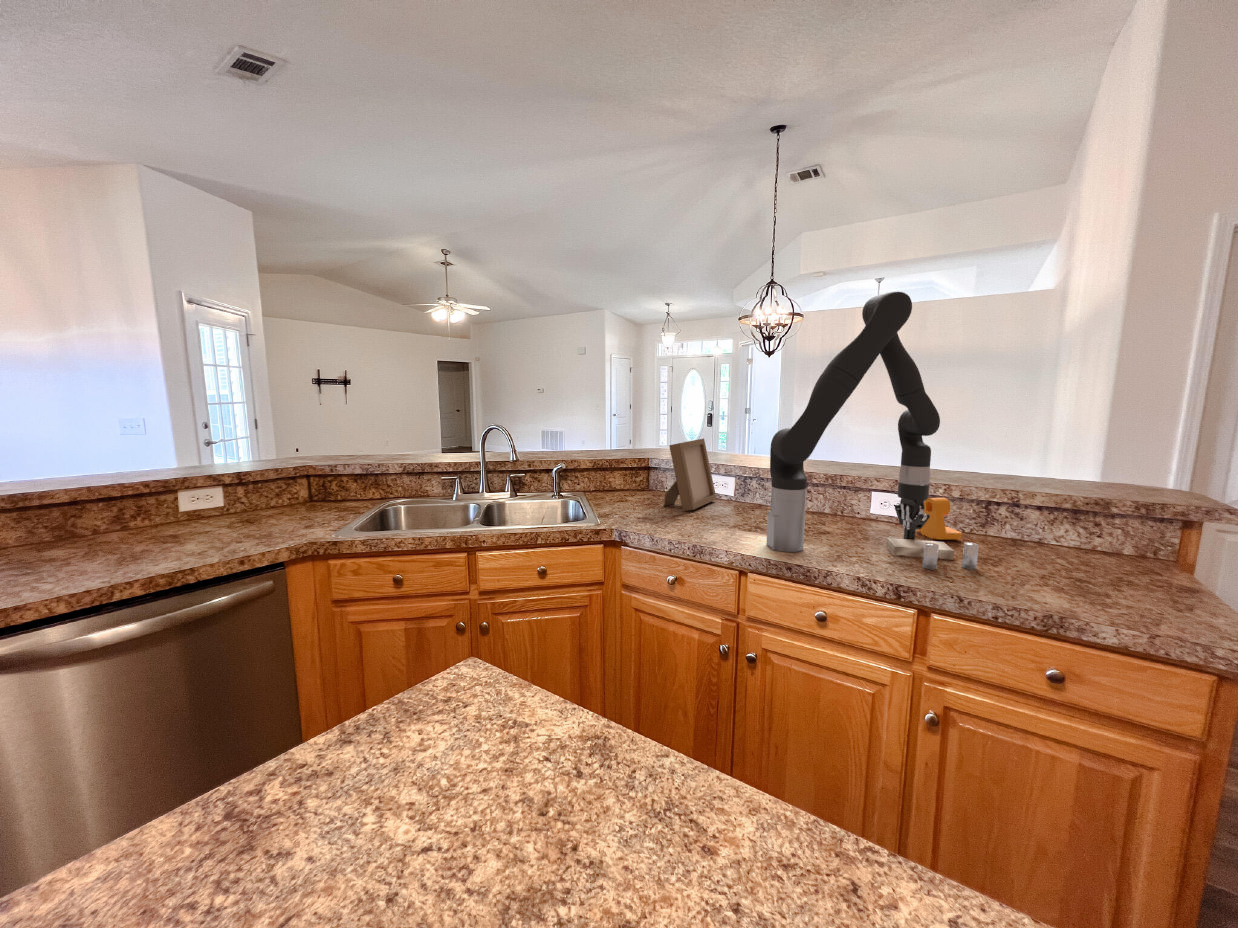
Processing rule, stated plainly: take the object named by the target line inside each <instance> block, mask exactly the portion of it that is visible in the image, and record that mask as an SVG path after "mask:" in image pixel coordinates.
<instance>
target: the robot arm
mask: <svg viewBox="0 0 1238 928" xmlns="http://www.w3.org/2000/svg"><path fill="white" fill-rule="evenodd" d="M912 310H913V302H912V299H911V297H910V295H908V293H905V292H903V291H889V292H886V293H882V294H879V295H876V296H873V297H870V299H868V300H867V301H866V302H865V304H864V305H863V307H862V312H861V313H862V316H861V317H862V320H863V323H864V327H863V329H862V330H861V331H860V333H859V334H858V336H856V337H855V338H854V339H853V340H852V341H851V342H850V343H849V344H848V345H847V346H845V347H844V348H842V349H841V351H840V352H839V353H837V354H836V355H835V357H834V358H833V359H831V360H830V362H829V363H828V365H826V367H825V368H824V370H823V371H822V373H821V375H820V376H819V378H818V379H817V381H816V383H815V384H814V386H813V389H812V390H811V391H812V392H811V394H810V397H809V400H808V403H807V405H806V407H805V409H804V411H803V412H802V414H801V415H800V416H799V418H798V419H797V420H796V422H795V423H794V424H793V425H792V426H791V427H790V428H789V427H788V428H782V429H779V430H778V431H777V432H776V433H775V434H774V435H773V437H772V439H771V443H770V451H769V453H770V454H769V455H770V456H769V462H770V463H769V472H770V473H769V474H770V478H771V487H770V489H771V490H770V491H771V492H770V493H771V494H770V510H769V511H767V521H766V522H767V524H766V525H767V526H766V527H767V528H766V545H767V546H768V547H769V548H770V549H771V550H772V551H779V552H784V553H785V552H787V553H794V552H795V553H797V552H801V551H803V550H804V545H805V544H804V543H805V527H806V526H805V523H806V508H807V506H806V505H807V487H808V480H807V476H806V474H805V470H804V462H805V461H806V460H808V459H809V457H811V455H812V454H813V452H814V450H815V448H816V447H817V445H818V443H819V441H820V440H821V438H822V437H823V434H824V432H825V431H826V429H827V427H828V426H829V425H830V423H831V422H832V420H833V419H834V418H835V417H836V415H837V414H838V413H839V411H840V410H841V409H842V407H843V406H844V405H845V403H846V402H847V400H848V399H849V398H850V397H851V395H853V392H854V391H855V390H856V389H857V387H858V386H859V384H860V382H861V381H862V379H863V378H864V377H865V375H866V373H867V372H868V371H870V368H871V367H872V365H874V362H875V361H876V360H877V358H878V357H879V355H880V357H881V359H882V361H883V364H884V366H885V369H886V371H887V374H888V377H889V380H890V383H891V387H892V390H893V393H894V396H895V399H896V401H897V403H898V404H900V405H902V406H904V407H905V408H907V409H906V410H905V411H903V412H902V413H901V415H900V416H899V419H898V423H897V431H898V436H899V443H900V447H901V459H900V466H899V472H898V484H897V494H896V495H897V497H898V498H899V499H900V501H899V504H894V510H895V513H896V515H897V516H896V517H897V519H898V523H899V524H900V525H902V527H903V529H904V530H903V531H904V532H903V539H910V540H916V539H915V538H916V531H918V530H917V529H921V528H922V527H923V526H924V524H925V523H926V522H927V520H928V519H929V518H930V515H929V514H925V512H924V501H925V500H927V499H928V498H929V495H930V482H931V461H932V459H931V458H932V449H931V447H930V446H929V445H928V444H927V443H925V442H924V440H923V437H928V436H932V435H934V434H936V433H937V432H938V430H939V428H940V426H941V425H940V424H941V418H940V417H941V416H940V413H939V412H938V410H937V408H936V406H935V404H934V402H933V401H932V400H931V399H932V398H930V396H929V395H928V394H927V393H926V389H925V385H924V382H923V379H922V376H921V372H920V371H919V367H918V366H917V364H916V362H915V361H914V359H913V358H912V357H911V355H910V353H908V351H907V349H906V348H905V347H904V344H903V343H902V341H901V339H900V337H899V334H898V333H899V331H900V330H901V329H902V328H903V327H904V326H905V324H906V323H907V322H908V321H909V318H910V317H911V313H912Z"/></svg>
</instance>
